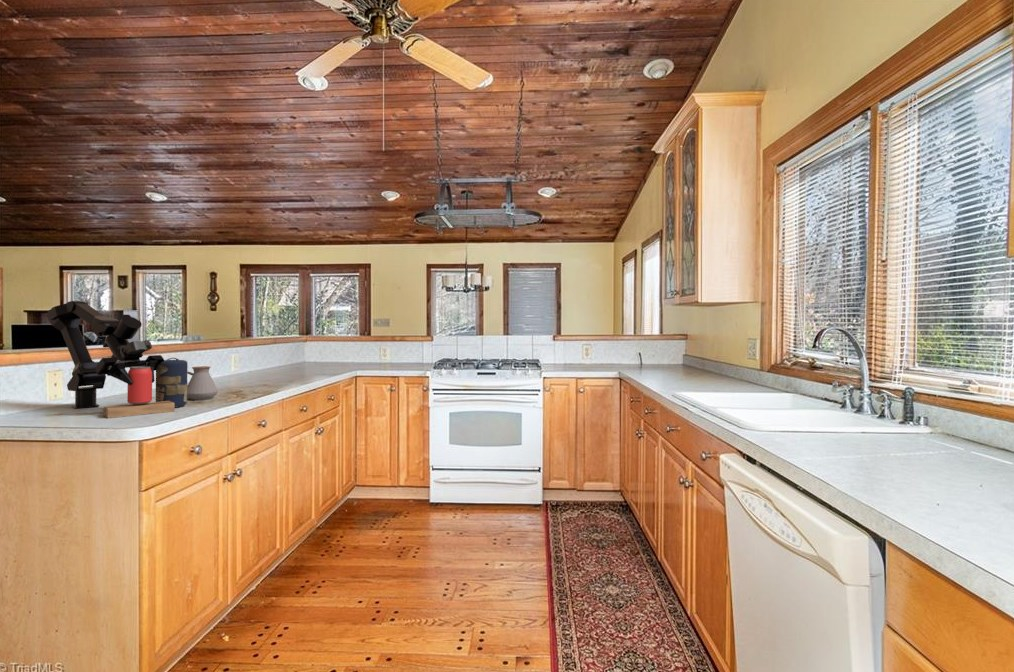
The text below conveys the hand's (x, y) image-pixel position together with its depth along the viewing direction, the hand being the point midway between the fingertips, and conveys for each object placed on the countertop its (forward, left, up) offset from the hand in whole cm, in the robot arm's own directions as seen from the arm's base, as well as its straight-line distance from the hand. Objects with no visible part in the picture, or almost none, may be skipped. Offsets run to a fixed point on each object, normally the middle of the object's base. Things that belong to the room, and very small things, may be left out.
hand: (142, 383), depth 161 cm
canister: (-9, +11, -11) cm, 18 cm away
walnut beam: (-1, 0, -10) cm, 10 cm away
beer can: (-1, 0, -7) cm, 7 cm away
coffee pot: (-26, +21, -11) cm, 35 cm away
